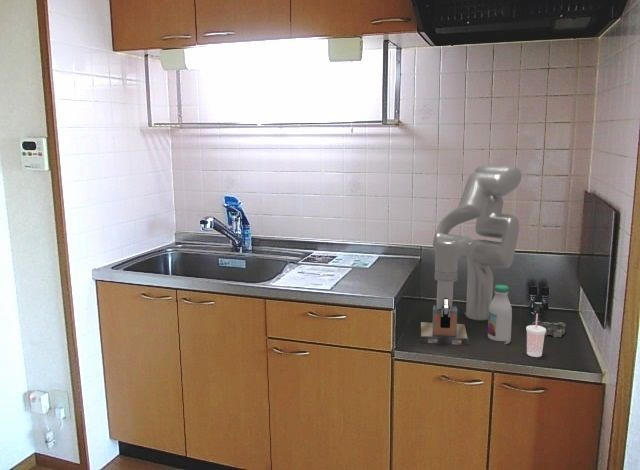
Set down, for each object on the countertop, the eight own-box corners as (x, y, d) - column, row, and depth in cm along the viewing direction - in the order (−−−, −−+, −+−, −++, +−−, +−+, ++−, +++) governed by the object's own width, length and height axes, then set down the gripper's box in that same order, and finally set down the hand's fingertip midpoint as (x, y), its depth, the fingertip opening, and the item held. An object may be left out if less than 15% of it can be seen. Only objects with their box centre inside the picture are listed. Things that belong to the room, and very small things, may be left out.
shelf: (464, 328, 209) (464, 319, 208) (468, 349, 189) (469, 339, 188) (420, 325, 212) (421, 317, 211) (420, 346, 192) (420, 337, 191)
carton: (455, 336, 197) (456, 306, 195) (456, 341, 192) (457, 311, 190) (432, 334, 199) (433, 305, 196) (432, 340, 194) (433, 310, 191)
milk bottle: (510, 338, 198) (513, 284, 194) (510, 346, 191) (513, 290, 187) (488, 335, 201) (490, 282, 197) (486, 343, 194) (489, 288, 190)
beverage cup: (543, 351, 187) (546, 311, 184) (545, 358, 181) (548, 317, 178) (523, 349, 188) (526, 310, 186) (525, 356, 183) (527, 316, 180)
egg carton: (566, 333, 202) (567, 323, 202) (558, 339, 197) (559, 328, 196) (537, 326, 210) (538, 316, 209) (529, 332, 204) (530, 321, 203)
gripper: (434, 268, 200) (433, 313, 203) (435, 281, 183) (434, 331, 187) (455, 268, 198) (454, 314, 202) (458, 282, 182) (457, 332, 185)
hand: (444, 322), depth 194 cm, fingers open, 9 cm apart
